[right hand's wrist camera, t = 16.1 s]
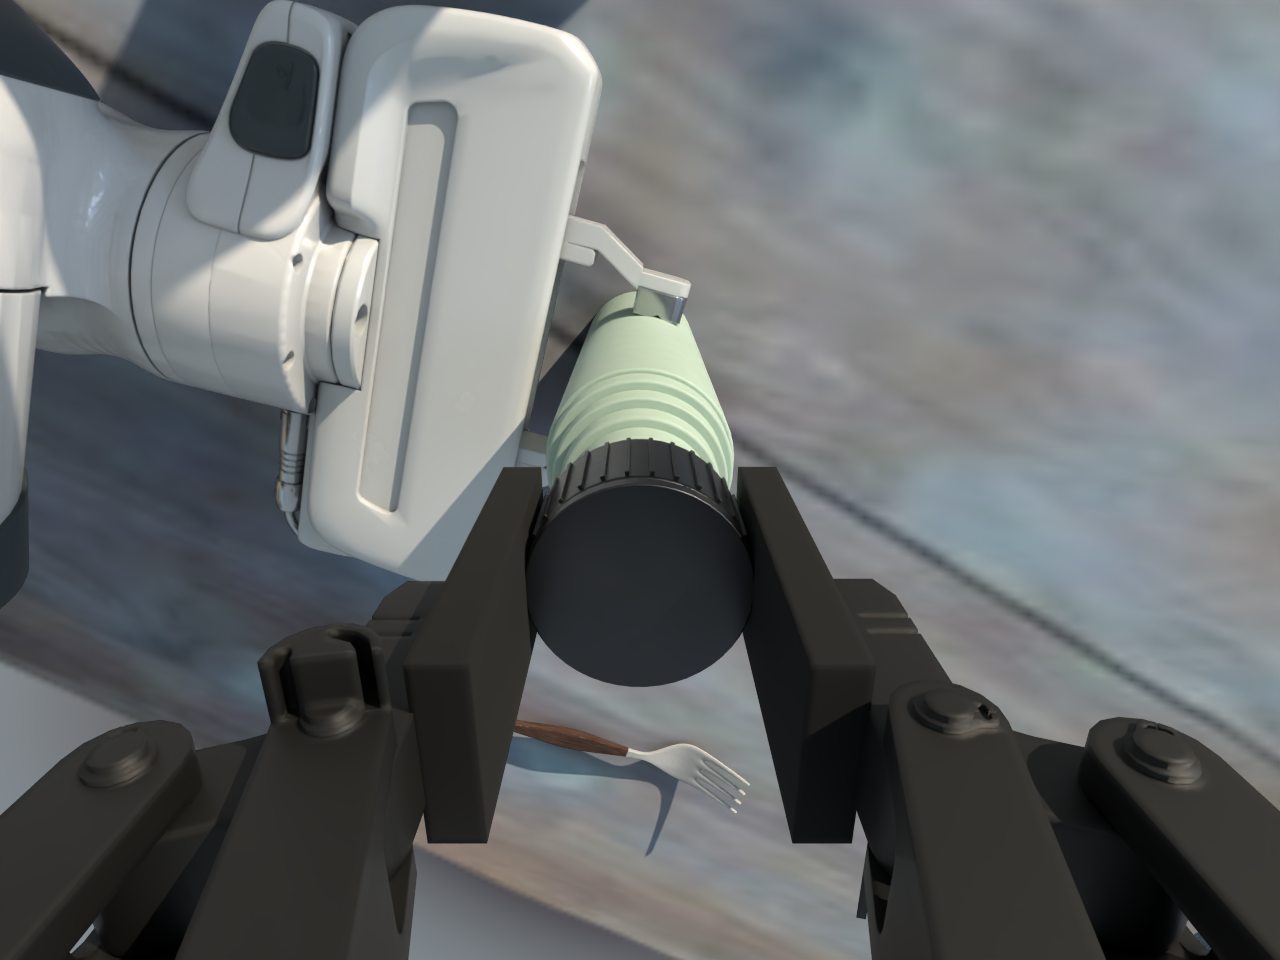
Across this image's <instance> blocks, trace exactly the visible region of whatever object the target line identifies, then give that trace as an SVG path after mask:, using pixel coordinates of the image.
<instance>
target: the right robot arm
mask: <svg viewBox="0 0 1280 960" xmlns="http://www.w3.org/2000/svg"><path fill="white" fill-rule="evenodd" d="M736 501H737V504H738V507H739V510H740V513H741V516H742V519H743V522H744V525H745V528H746V531H747V534H748V538H747V539H746V541H747V545H748V548H749V551H750V554H751V558H752V562H753V566H754V588H753V603H752V612H751V614H750V617H749V619H748V622H747V624H746V626H745V628H744V630H743V631H742V632H743V636H744V640H745V645H746V649H747V653H748V657H749V662H750V666H751V670H752V674H753V678H754V683H755V687H756V691H757V695H758V699H759V704H760V708H761V712H762V716H763V721H764V725H765V729H766V733H767V737H768V742H769V746H770V750H771V754H772V759H773V763H774V767H775V771H776V775H777V780H778V784H779V788H780V792H781V797H782V801H783V805H784V809H785V813H786V818H787V822H788V826H789V830H790V835H791V839H792V843H852V838H853V831H854V824H855V817H856V810H857V813H858V816H859V818H860V821H861V824H862V827H863V830H864V832H865V835H866V838H867V841H868V844H867V851H866V857H865V864H864V870H863V877H862V883H861V890H860V897H859V903H858V910H857V917H856V918H862V919H866V915H868V925H869V935H870V945H871V955H872V960H1280V811H1279V810H1278V809H1277V808H1276V807H1275V806H1273V805H1272V804H1271V803H1270V802H1269V801H1268V800H1267V799H1266V798H1265V797H1264V796H1262V795H1261V794H1260V793H1259V792H1258V791H1257V790H1256V789H1255V788H1254V787H1253V786H1251V785H1250V784H1249V783H1248V782H1247V781H1246V780H1245V779H1244V778H1243V777H1242V776H1240V775H1239V774H1238V773H1237V772H1236V771H1235V770H1234V769H1233V768H1232V767H1231V766H1229V765H1228V764H1227V763H1226V762H1225V761H1224V760H1223V759H1222V758H1221V757H1220V756H1218V755H1217V754H1215V753H1214V752H1213V751H1211V750H1210V749H1209V748H1207V747H1206V746H1204V745H1203V744H1202V743H1200V742H1199V741H1198V740H1196V739H1194V738H1192V737H1189V736H1187V735H1185V734H1183V733H1181V732H1179V731H1177V730H1175V729H1173V728H1171V727H1168V726H1165V725H1162V724H1157V723H1155V722H1152V721H1147V720H1144V719H1134V718H1124V717H1116V718H1111V719H1106V720H1100V721H1099V722H1098V723H1097V724H1096V725H1094V726H1093V727H1092V728H1091V729H1090V730H1089V734H1088V737H1087V741H1086V745H1085V747H1080V746H1075V745H1071V744H1066V743H1061V742H1057V741H1052V740H1047V739H1043V738H1038V737H1034V736H1030V735H1026V734H1023V733H1019V732H1016V731H1013V730H1012V729H1011V726H1010V724H1009V722H1008V720H1007V719H1006V717H1005V716H1004V715H1003V713H1002V712H1001V710H1000V709H999V708H998V707H997V706H996V705H994V704H993V703H992V702H990V701H989V700H988V699H986V698H985V697H984V696H982V695H981V694H979V693H976V692H974V691H972V690H970V689H967V688H965V687H963V686H961V685H957V684H953V683H952V682H951V680H950V679H949V677H948V676H947V674H946V673H945V671H944V669H943V668H942V666H941V665H940V663H939V662H938V660H937V659H936V657H935V656H934V654H933V652H932V651H931V649H930V648H929V646H928V645H927V643H926V642H925V640H924V638H923V637H922V635H921V634H918V629H917V628H916V626H915V625H914V623H913V621H912V620H911V618H908V614H907V612H906V611H905V609H904V608H903V606H902V604H901V603H900V601H899V600H898V598H897V597H896V595H895V594H893V593H892V592H890V591H889V590H887V589H886V588H885V587H883V586H882V585H880V584H879V583H877V582H876V581H875V580H873V579H833V578H832V576H831V574H830V572H829V570H828V568H827V566H826V564H825V562H824V560H823V558H822V556H821V554H820V552H819V550H818V548H817V546H816V544H815V542H814V540H813V538H812V536H811V534H810V532H809V530H808V528H807V527H806V525H805V523H804V521H803V519H802V517H801V515H800V513H799V511H798V509H797V507H796V505H795V503H794V501H793V499H792V497H791V495H790V493H789V491H788V489H787V487H786V485H785V483H784V481H783V479H782V477H781V475H780V474H779V472H778V470H777V468H776V467H738V480H737V499H736ZM542 503H543V489H542V470H541V467H503V469H502V471H501V473H500V475H499V476H498V478H497V480H496V482H495V484H494V486H493V488H492V490H491V492H490V494H489V496H488V498H487V500H486V502H485V504H484V506H483V508H482V510H481V512H480V514H479V516H478V518H477V520H476V522H475V524H474V526H473V527H472V529H471V531H470V533H469V535H468V537H467V539H466V541H465V543H464V545H463V547H462V549H461V551H460V553H459V555H458V557H457V559H456V561H455V563H454V565H453V567H452V569H451V571H450V573H449V575H448V576H447V578H446V580H445V581H407V582H406V583H404V584H403V585H401V586H400V587H399V588H397V589H396V590H394V591H393V592H391V593H390V594H389V595H387V596H386V597H384V599H383V600H382V602H381V603H380V605H379V607H378V608H377V610H376V611H375V613H374V614H373V616H372V620H370V621H369V622H368V624H367V625H366V627H364V626H360V625H356V624H329V625H324V626H319V627H314V628H309V629H306V630H304V631H301V632H299V633H296V634H293V635H291V636H288V637H286V638H285V639H283V640H281V641H280V642H278V643H277V644H275V645H274V646H272V647H271V648H269V649H268V650H267V651H266V653H265V654H264V655H263V656H262V657H261V659H260V660H259V661H258V662H257V663H258V668H259V672H260V677H261V681H262V685H263V690H264V694H265V698H266V703H267V707H268V712H269V716H270V720H271V725H270V727H269V730H268V732H267V734H264V735H261V736H257V737H253V738H250V739H246V740H242V741H237V742H233V743H228V744H223V745H219V746H214V747H209V748H205V749H200V750H195V747H194V743H193V740H192V736H191V733H190V732H189V731H188V730H187V729H186V728H184V727H183V726H182V725H181V724H179V723H174V722H168V721H163V720H158V721H148V722H137V723H134V724H130V725H126V726H124V727H119V728H116V729H113V730H110V731H108V732H106V733H104V734H102V735H100V736H98V737H96V738H94V739H92V740H90V741H87V742H85V743H83V744H82V745H81V746H79V747H78V748H77V749H75V750H74V751H72V752H71V753H70V754H68V755H67V756H66V757H64V758H63V759H61V760H60V761H59V762H58V763H57V764H56V765H55V766H54V767H53V768H52V769H50V770H49V771H48V772H47V773H46V774H45V775H44V776H43V777H42V778H41V779H40V780H38V781H37V782H36V783H35V784H34V785H33V786H32V787H31V788H30V789H29V790H28V791H26V792H25V793H24V794H23V795H22V796H21V797H20V798H19V799H18V800H17V801H16V802H14V803H13V804H12V805H11V806H10V807H9V808H8V809H7V810H6V811H5V812H4V813H2V814H1V815H0V960H408V956H409V946H410V936H411V927H412V917H413V906H414V896H415V887H416V877H417V871H416V864H415V857H414V851H413V844H412V843H413V840H414V838H415V835H416V832H417V829H418V826H419V823H420V821H421V818H422V815H423V813H424V820H425V827H426V834H427V841H428V843H487V841H488V837H489V833H490V828H491V824H492V820H493V816H494V811H495V807H496V803H497V799H498V795H499V790H500V786H501V782H502V778H503V773H504V769H505V765H506V761H507V757H508V752H509V748H510V744H511V740H512V735H513V731H514V727H515V723H516V719H517V714H518V710H519V706H520V702H521V698H522V693H523V689H524V685H525V681H526V676H527V672H528V668H529V664H530V660H531V655H532V651H533V647H534V643H535V638H536V634H537V630H536V628H535V626H534V625H533V623H532V620H531V618H530V615H529V612H528V608H527V596H526V580H525V569H526V565H527V561H528V557H529V553H530V550H531V546H532V543H533V540H534V539H532V538H531V537H532V534H533V531H534V528H535V524H536V521H537V518H538V515H539V512H540V509H541V506H542ZM1188 920H1189V921H1190V922H1191V924H1192V925H1193V926H1194V927H1195V929H1196V930H1197V931H1198V932H1199V934H1200V935H1201V936H1202V937H1203V939H1204V940H1205V941H1206V942H1207V943H1208V945H1209V946H1210V947H1211V948H1212V949H1211V950H1210V951H1209V950H1207V949H1206V948H1205V947H1204V946H1203V945H1202V944H1201V943H1200V942H1199V941H1198V940H1197V939H1196V937H1195V936H1194V935H1193V934H1192V932H1191V931H1190V930H1189V929H1188V927H1187V926H1186V923H1187V921H1188ZM92 923H93V925H94V927H95V928H94V930H93V931H92V932H91V934H90V935H89V936H88V937H87V938H86V940H85V941H84V942H83V943H82V944H81V945H80V946H79V947H78V948H77V949H76V950H75V951H74V952H72V953H69V952H70V951H71V949H72V948H73V947H74V946H75V944H76V943H77V942H78V941H79V939H80V938H81V937H82V936H83V934H84V933H85V932H86V931H87V929H88V928H89V927H90V926H91V924H92Z"/></svg>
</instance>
